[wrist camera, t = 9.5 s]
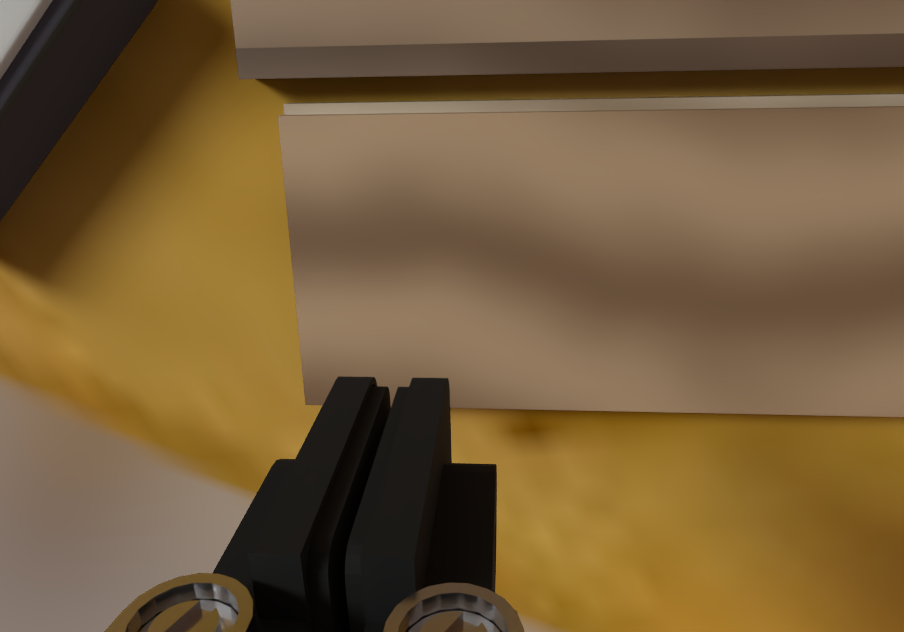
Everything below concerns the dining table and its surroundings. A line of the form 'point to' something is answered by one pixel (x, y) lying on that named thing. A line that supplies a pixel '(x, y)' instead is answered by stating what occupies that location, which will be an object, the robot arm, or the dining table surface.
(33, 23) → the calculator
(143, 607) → the robot arm
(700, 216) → the plank
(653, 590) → the dining table surface
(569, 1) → the laid row
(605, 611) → the dining table surface
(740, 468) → the dining table surface
